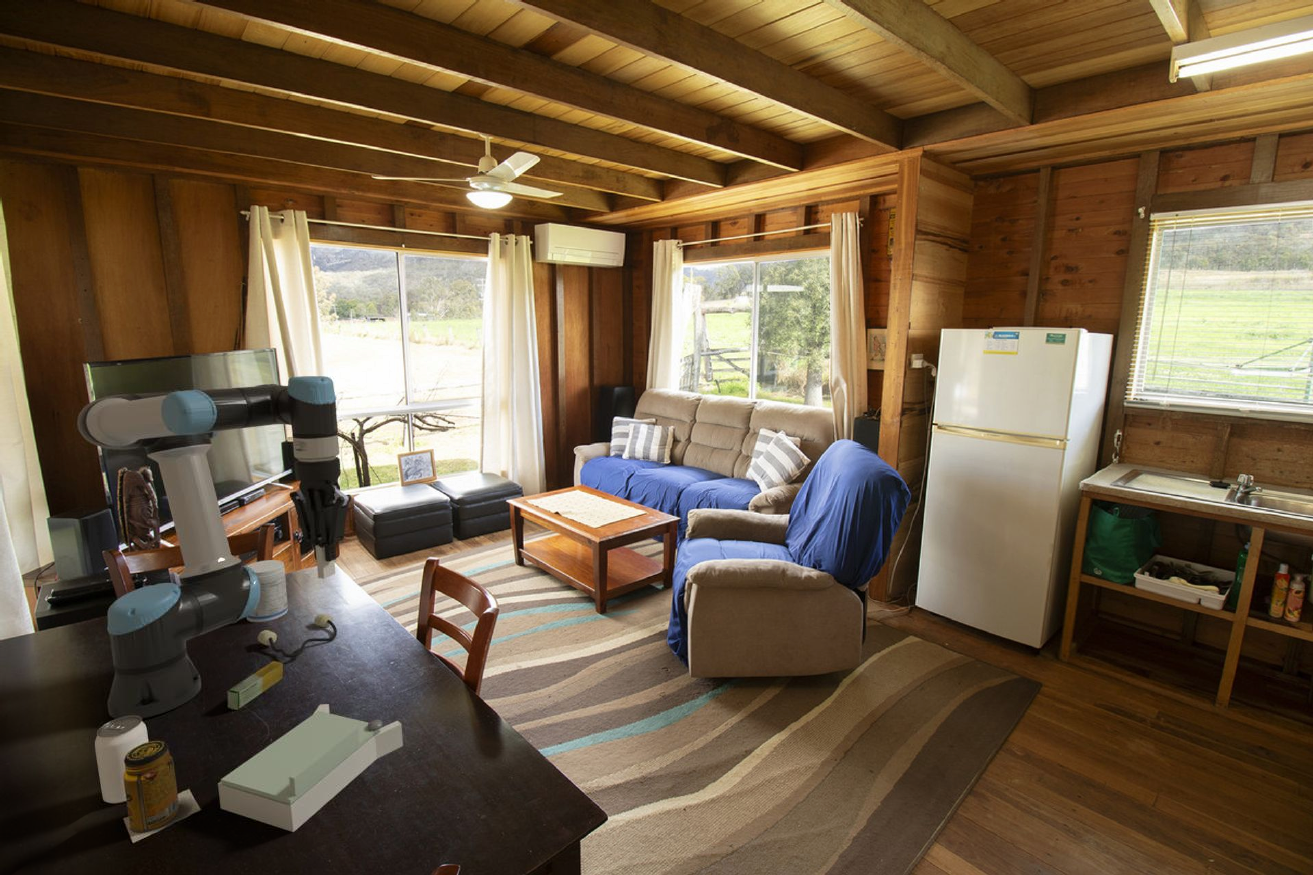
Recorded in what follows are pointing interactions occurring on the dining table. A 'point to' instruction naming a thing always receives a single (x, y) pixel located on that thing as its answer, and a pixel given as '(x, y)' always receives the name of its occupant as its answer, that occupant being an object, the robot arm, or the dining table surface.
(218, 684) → the dining table surface
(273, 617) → the supplement tub
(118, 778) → the can
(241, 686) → the medication box
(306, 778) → the cover
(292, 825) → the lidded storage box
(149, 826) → the condiment
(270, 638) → the cable
